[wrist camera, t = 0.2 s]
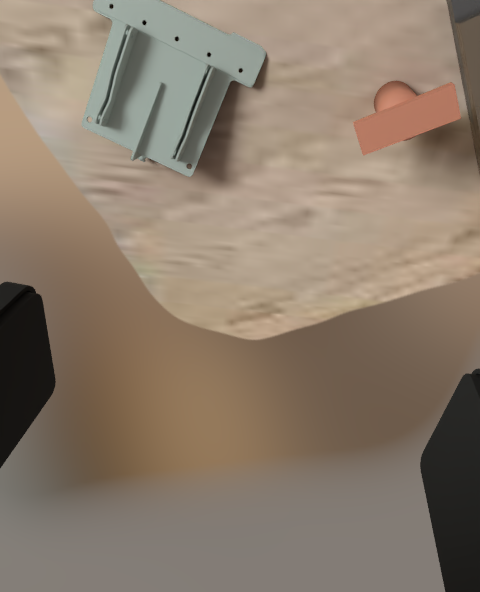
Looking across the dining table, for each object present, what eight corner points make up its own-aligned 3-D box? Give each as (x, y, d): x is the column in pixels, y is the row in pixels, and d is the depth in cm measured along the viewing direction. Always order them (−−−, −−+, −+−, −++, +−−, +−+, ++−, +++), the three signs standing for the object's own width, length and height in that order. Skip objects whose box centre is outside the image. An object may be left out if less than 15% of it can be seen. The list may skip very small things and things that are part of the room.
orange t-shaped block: (348, 99, 40) (352, 119, 33) (431, 64, 37) (453, 78, 31) (358, 134, 41) (364, 160, 35) (439, 102, 39) (462, 123, 32)
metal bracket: (204, 197, 41) (48, 125, 40) (211, 191, 47) (74, 127, 45) (273, 34, 37) (100, -53, 35) (271, 48, 42) (122, -27, 41)
